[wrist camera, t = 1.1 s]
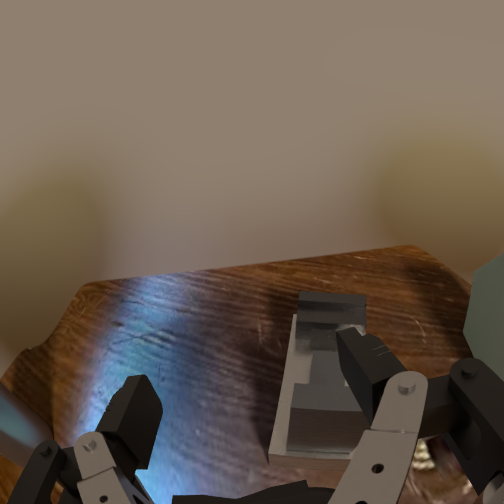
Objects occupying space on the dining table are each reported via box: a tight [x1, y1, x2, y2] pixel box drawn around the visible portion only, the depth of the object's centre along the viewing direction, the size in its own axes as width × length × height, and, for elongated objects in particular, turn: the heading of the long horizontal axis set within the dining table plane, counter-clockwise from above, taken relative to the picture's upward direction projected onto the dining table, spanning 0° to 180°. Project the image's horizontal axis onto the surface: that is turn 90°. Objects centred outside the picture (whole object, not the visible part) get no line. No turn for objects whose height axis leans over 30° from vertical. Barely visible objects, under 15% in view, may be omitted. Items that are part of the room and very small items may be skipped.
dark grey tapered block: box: [286, 350, 371, 452], centre depth 22 cm, size 11×6×10 cm, turn 168°
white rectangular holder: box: [268, 291, 367, 471], centre depth 28 cm, size 18×9×10 cm, turn 168°
